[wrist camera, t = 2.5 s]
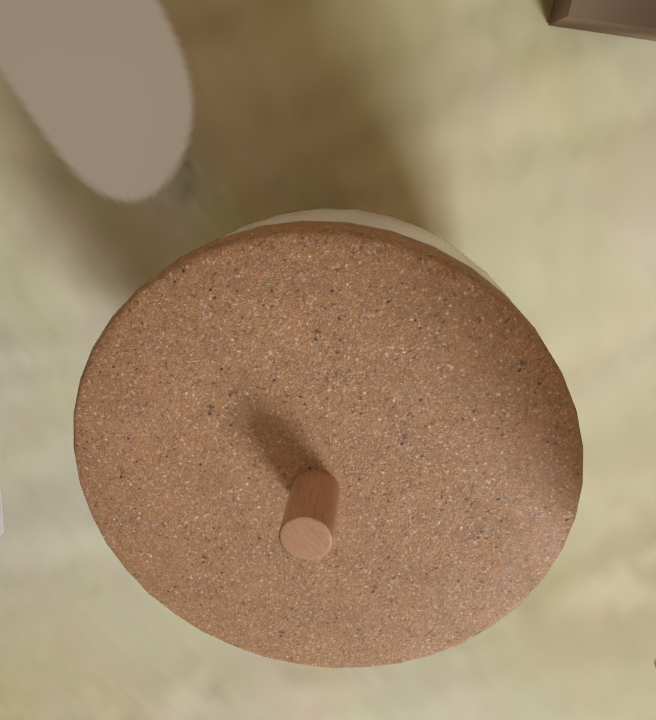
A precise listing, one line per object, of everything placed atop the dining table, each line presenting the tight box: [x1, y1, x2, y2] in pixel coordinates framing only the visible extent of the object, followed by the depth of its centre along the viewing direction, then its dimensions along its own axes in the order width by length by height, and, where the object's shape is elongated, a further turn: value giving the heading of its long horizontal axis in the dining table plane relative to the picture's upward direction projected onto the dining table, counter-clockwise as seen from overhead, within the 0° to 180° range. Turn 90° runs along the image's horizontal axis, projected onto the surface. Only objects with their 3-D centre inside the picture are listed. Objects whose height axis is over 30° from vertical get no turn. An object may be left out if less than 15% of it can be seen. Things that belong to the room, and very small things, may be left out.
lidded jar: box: [74, 208, 583, 668], centre depth 16 cm, size 11×11×9 cm
